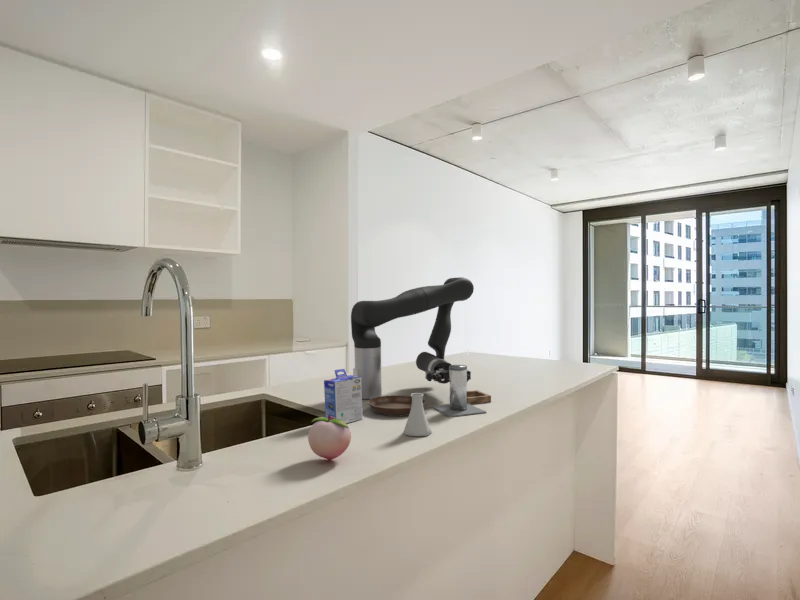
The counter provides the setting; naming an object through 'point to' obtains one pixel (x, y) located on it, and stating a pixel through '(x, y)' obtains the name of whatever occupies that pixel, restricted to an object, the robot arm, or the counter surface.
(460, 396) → the canister
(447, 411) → the rubber mat
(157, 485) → the counter surface
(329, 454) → the decorative fruit
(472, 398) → the pocket frame
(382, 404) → the plant saucer
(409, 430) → the flask
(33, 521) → the counter surface
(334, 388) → the ink cartridge box
